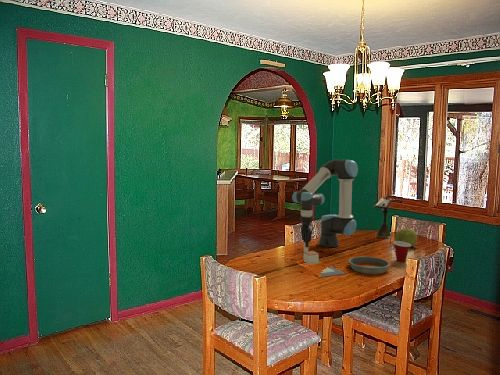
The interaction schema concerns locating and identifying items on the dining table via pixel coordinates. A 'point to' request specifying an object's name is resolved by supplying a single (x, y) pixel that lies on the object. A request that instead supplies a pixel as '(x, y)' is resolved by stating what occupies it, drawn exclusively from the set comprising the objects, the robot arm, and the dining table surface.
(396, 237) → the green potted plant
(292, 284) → the dining table surface
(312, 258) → the cream block
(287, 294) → the dining table surface
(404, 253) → the plastic cup
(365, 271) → the cake pan
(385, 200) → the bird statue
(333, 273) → the blue-grey flat triangle
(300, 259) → the dining table surface
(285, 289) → the dining table surface
